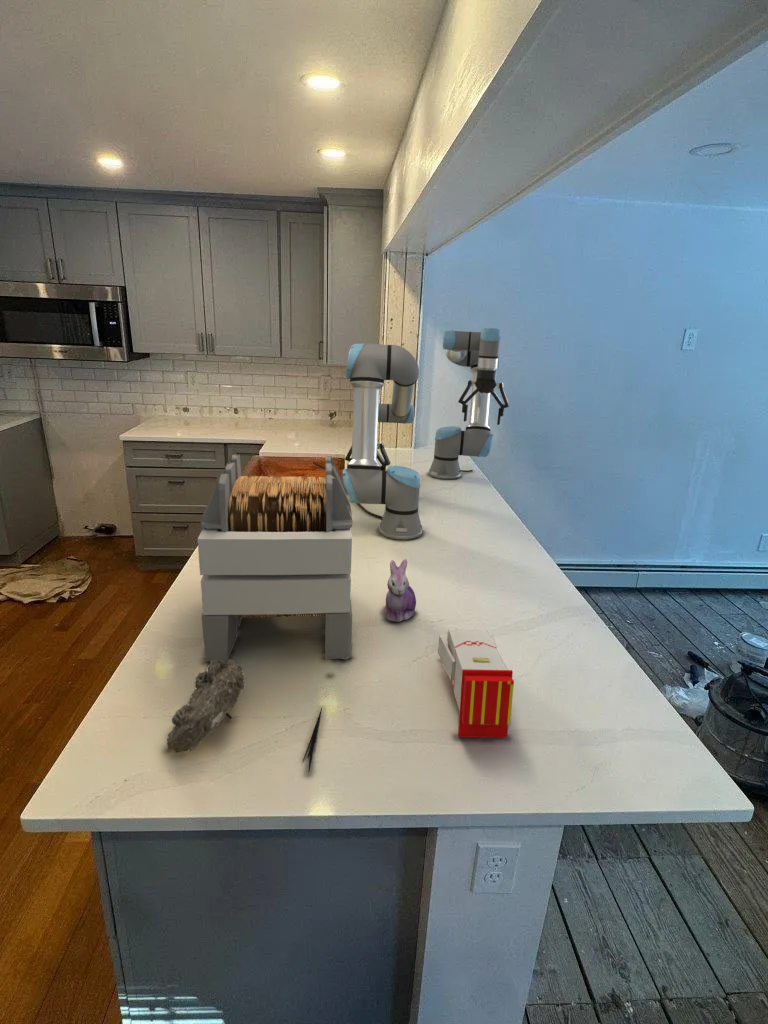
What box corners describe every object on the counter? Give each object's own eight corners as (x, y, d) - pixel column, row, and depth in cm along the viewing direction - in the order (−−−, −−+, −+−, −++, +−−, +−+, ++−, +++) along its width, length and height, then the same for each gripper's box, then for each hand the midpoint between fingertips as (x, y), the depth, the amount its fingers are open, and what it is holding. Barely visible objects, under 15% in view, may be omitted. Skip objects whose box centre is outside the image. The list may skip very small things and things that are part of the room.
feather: (331, 679, 122) (336, 673, 122) (307, 777, 96) (313, 769, 95) (324, 675, 122) (329, 669, 121) (298, 772, 95) (304, 764, 95)
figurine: (392, 627, 141) (395, 572, 136) (374, 608, 149) (376, 556, 144) (425, 619, 145) (429, 566, 140) (405, 601, 154) (408, 550, 149)
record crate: (225, 590, 155) (217, 445, 141) (345, 589, 159) (348, 447, 145) (202, 664, 123) (188, 485, 110) (352, 660, 127) (356, 487, 113)
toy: (488, 613, 130) (523, 677, 101) (484, 667, 133) (517, 744, 104) (435, 612, 130) (455, 676, 101) (432, 666, 133) (451, 743, 103)
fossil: (192, 660, 117) (244, 628, 112) (224, 691, 120) (276, 661, 115) (142, 746, 98) (202, 712, 93) (182, 779, 101) (242, 748, 96)
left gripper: (398, 432, 243) (396, 479, 250) (344, 426, 250) (343, 472, 257) (393, 435, 236) (391, 484, 243) (338, 429, 243) (337, 476, 250)
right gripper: (520, 370, 223) (513, 424, 231) (457, 366, 230) (453, 418, 237) (518, 372, 217) (511, 427, 224) (454, 367, 224) (449, 421, 231)
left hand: (366, 478), depth 250 cm, fingers open, 13 cm apart
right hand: (481, 422), depth 231 cm, fingers open, 13 cm apart
